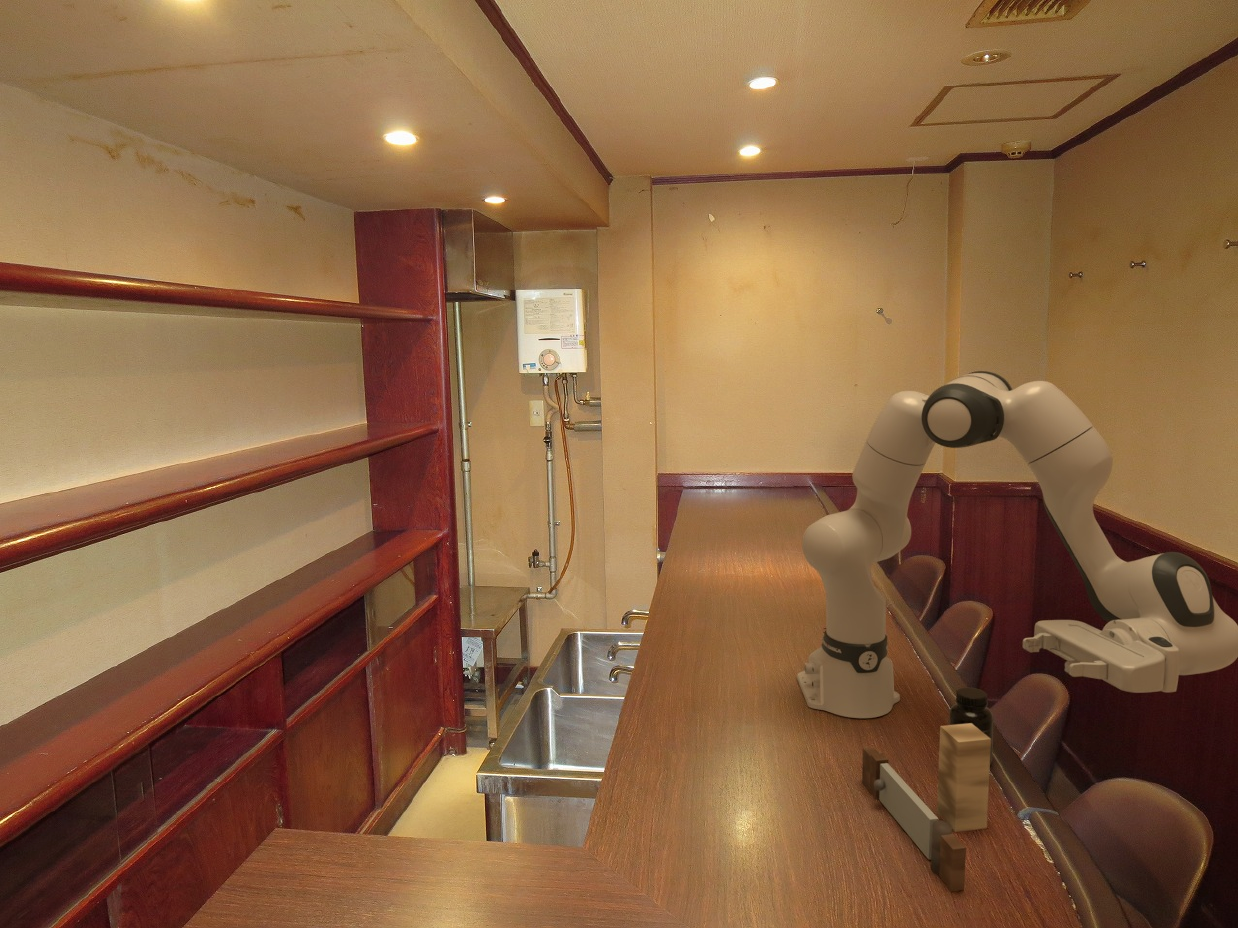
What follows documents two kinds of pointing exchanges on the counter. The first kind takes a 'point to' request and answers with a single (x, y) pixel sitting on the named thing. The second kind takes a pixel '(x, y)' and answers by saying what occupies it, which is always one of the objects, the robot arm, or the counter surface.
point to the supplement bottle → (973, 711)
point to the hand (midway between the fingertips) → (1045, 656)
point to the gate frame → (945, 845)
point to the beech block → (963, 777)
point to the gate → (906, 808)
